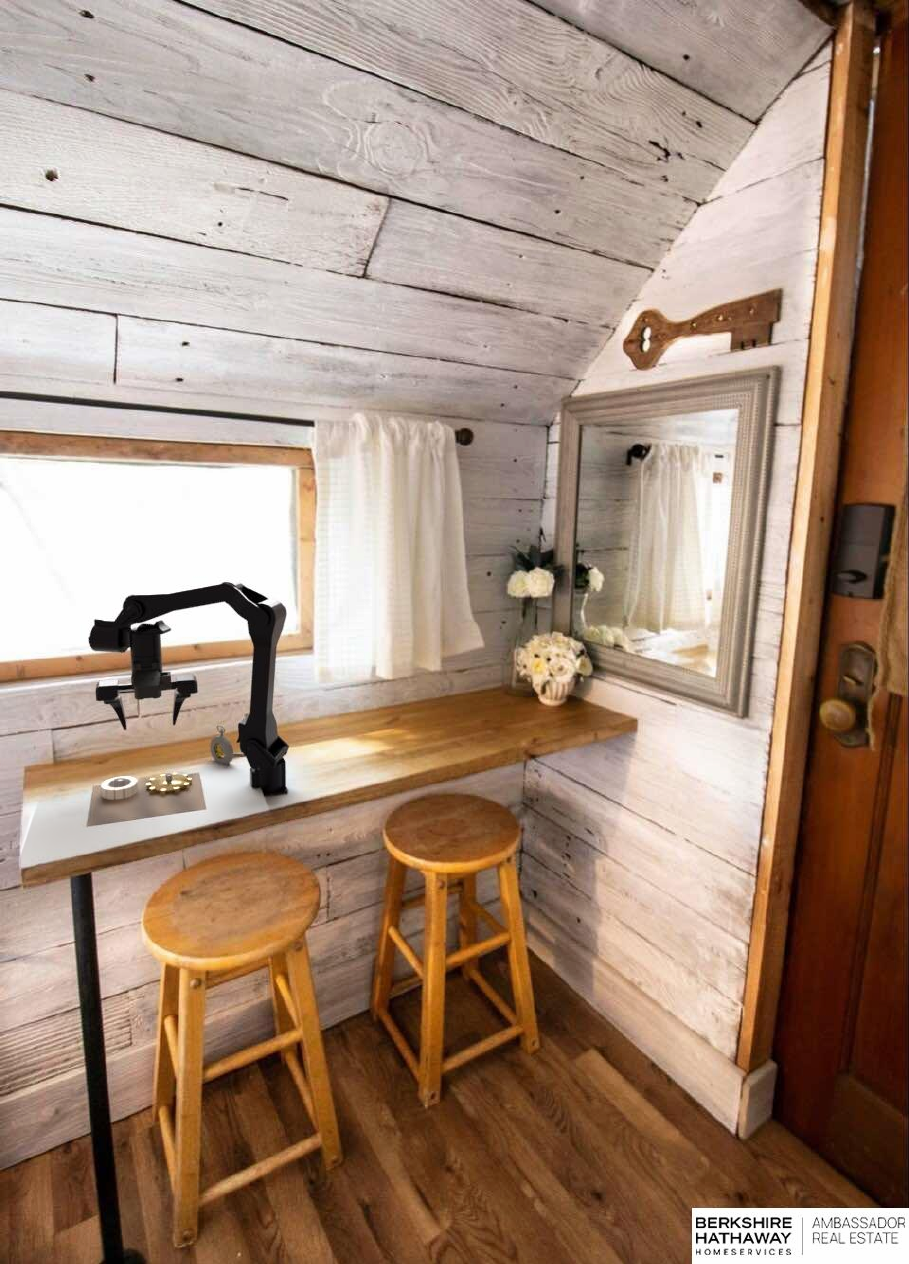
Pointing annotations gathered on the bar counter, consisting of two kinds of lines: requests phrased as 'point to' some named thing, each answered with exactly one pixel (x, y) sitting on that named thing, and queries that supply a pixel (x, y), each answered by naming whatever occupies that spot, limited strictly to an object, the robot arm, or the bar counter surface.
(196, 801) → the gear board
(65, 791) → the bar counter surface
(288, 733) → the bar counter surface
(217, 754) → the pocket watch
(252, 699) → the robot arm
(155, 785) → the brass drive gear
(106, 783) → the ring gear
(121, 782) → the steel peg
